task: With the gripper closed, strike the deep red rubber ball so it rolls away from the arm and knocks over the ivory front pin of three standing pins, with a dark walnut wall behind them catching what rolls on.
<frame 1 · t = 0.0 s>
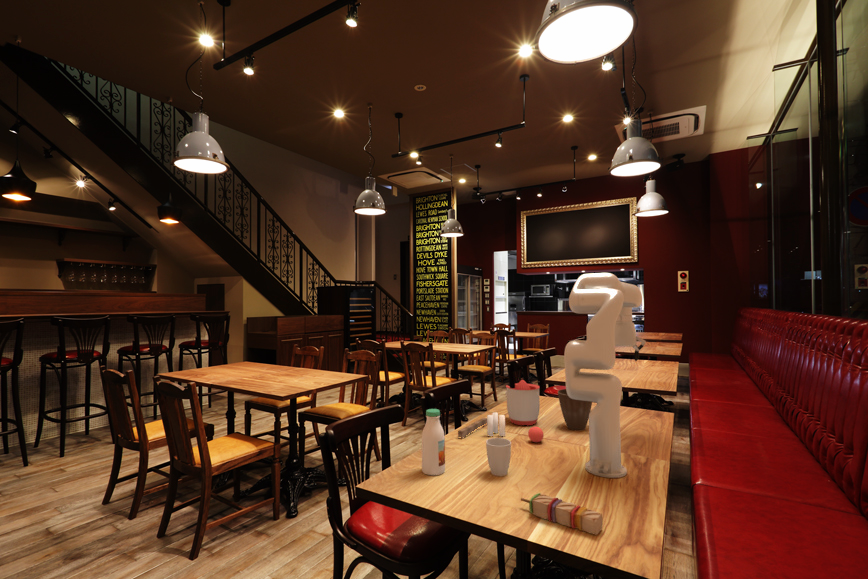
hand: (623, 359, 173), 31 cm above the table, tool pointing down, fingers open, 9 cm apart
back wall: (473, 431, 178), on the table
left back pin: (490, 436, 171), on the table
citrus juicer: (522, 422, 191), on the table
ball: (535, 434, 163), on the table
cup: (499, 473, 133), on the table
front pin: (502, 436, 171), on the table
right back pin: (495, 433, 175), on the table
milk bottle: (433, 471, 135), on the table
plant pot: (576, 428, 181), on the table
skewer: (558, 521, 103), on the table
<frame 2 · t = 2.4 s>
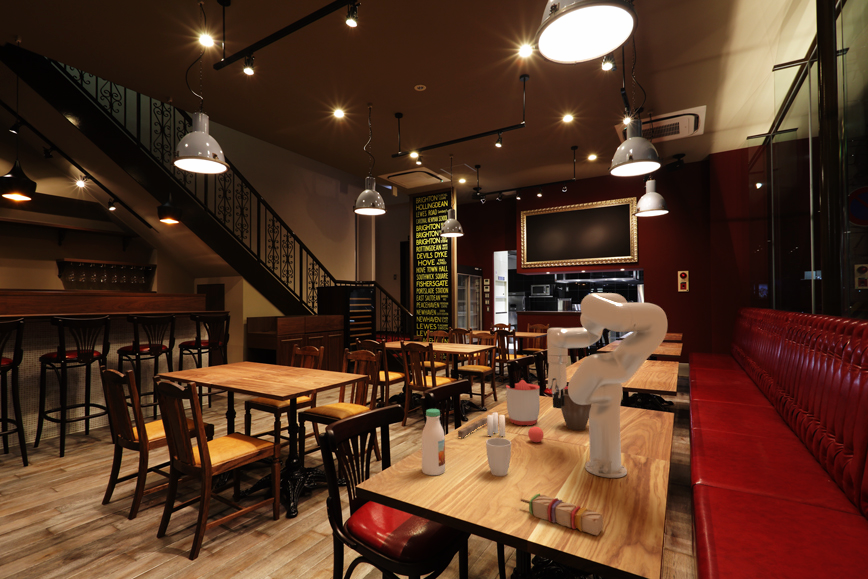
hand: (558, 406, 159), 15 cm above the table, tool pointing down, fingers open, 3 cm apart
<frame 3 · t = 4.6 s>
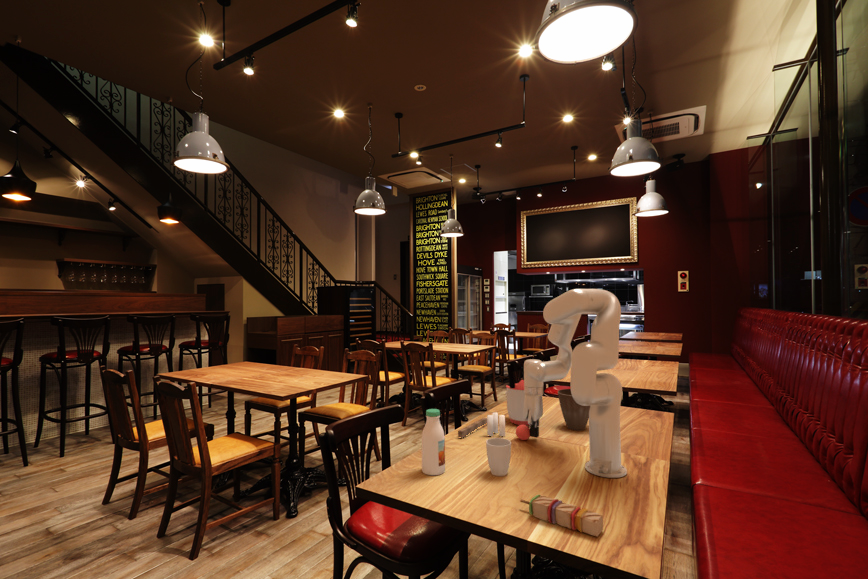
hand: (534, 436, 164), 2 cm above the table, tool pointing down, fingers closed
ball: (523, 432, 166), on the table
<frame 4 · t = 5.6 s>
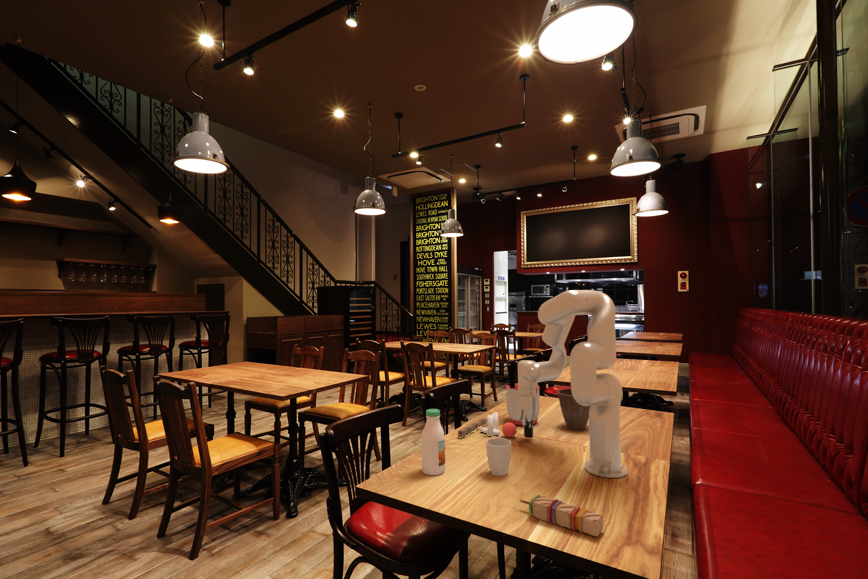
hand: (528, 437, 165), 2 cm above the table, tool pointing down, fingers closed
ball: (509, 429, 170), on the table
front pin: (499, 433, 172), point 1 cm above the table, tilted 90°
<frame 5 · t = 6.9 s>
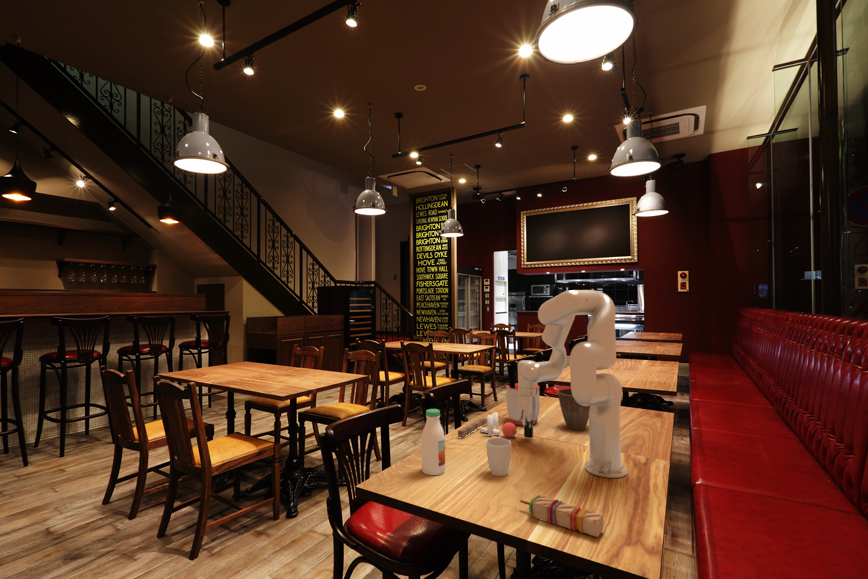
hand: (528, 437, 165), 2 cm above the table, tool pointing down, fingers closed
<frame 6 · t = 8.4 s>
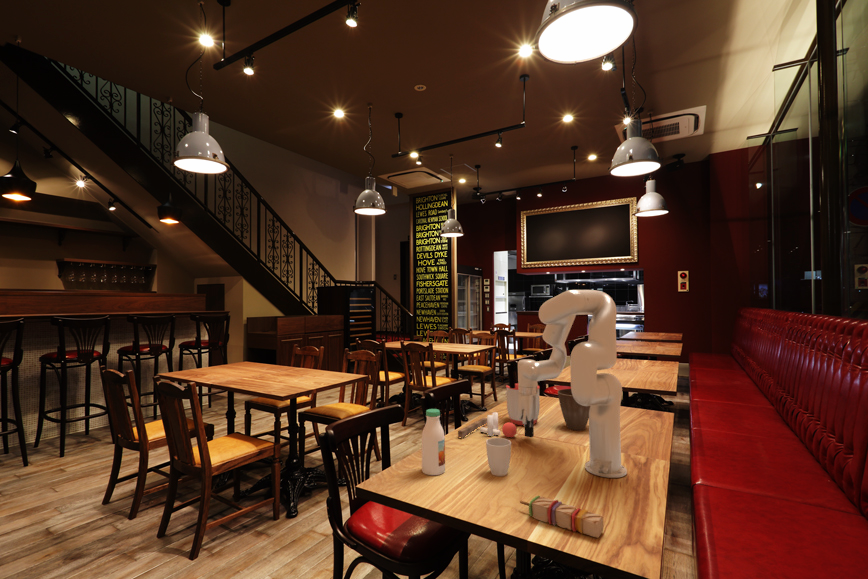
hand: (529, 436, 164), 2 cm above the table, tool pointing down, fingers closed
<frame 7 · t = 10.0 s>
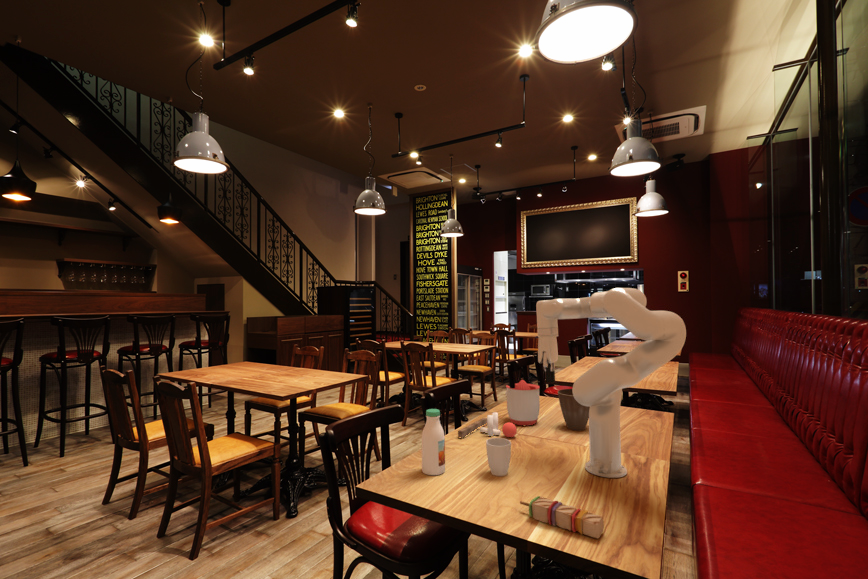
hand: (550, 381, 153), 26 cm above the table, tool pointing down, fingers closed
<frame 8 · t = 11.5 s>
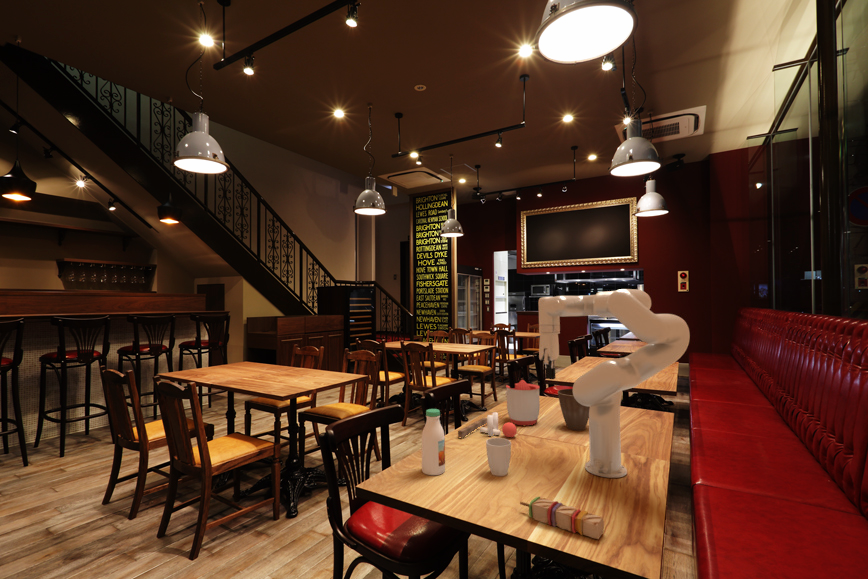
hand: (550, 378, 153), 27 cm above the table, tool pointing down, fingers closed
at the end: front pin tilted 90°; front pin never touched the robot; ball moved 11.4 cm from its start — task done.
